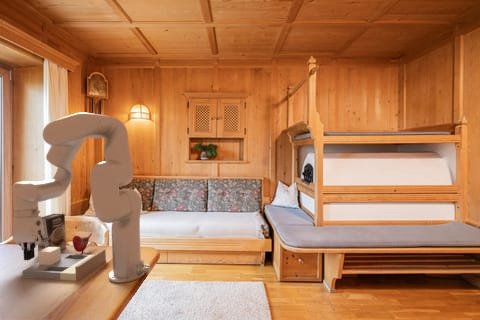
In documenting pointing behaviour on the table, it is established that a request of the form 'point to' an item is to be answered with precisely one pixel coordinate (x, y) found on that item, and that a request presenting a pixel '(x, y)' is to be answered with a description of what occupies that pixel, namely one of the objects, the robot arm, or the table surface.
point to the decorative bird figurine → (80, 243)
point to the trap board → (67, 267)
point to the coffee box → (53, 232)
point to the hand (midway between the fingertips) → (29, 258)
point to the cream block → (49, 255)
